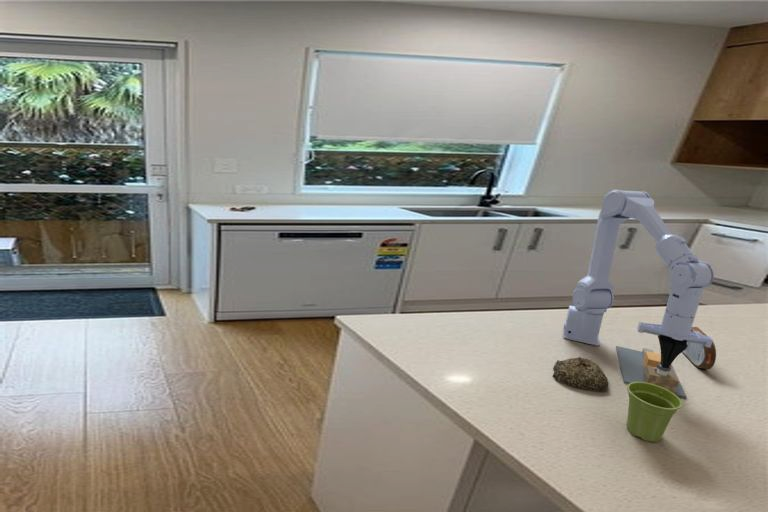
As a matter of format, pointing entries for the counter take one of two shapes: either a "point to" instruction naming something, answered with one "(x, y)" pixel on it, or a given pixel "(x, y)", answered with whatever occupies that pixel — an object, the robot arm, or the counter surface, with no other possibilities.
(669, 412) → the plant pot
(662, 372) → the grey domed push button
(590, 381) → the brown rock
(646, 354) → the tan block with tabs
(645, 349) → the rail
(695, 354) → the tin
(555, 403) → the counter surface
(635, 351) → the base mat
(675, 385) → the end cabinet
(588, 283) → the robot arm
